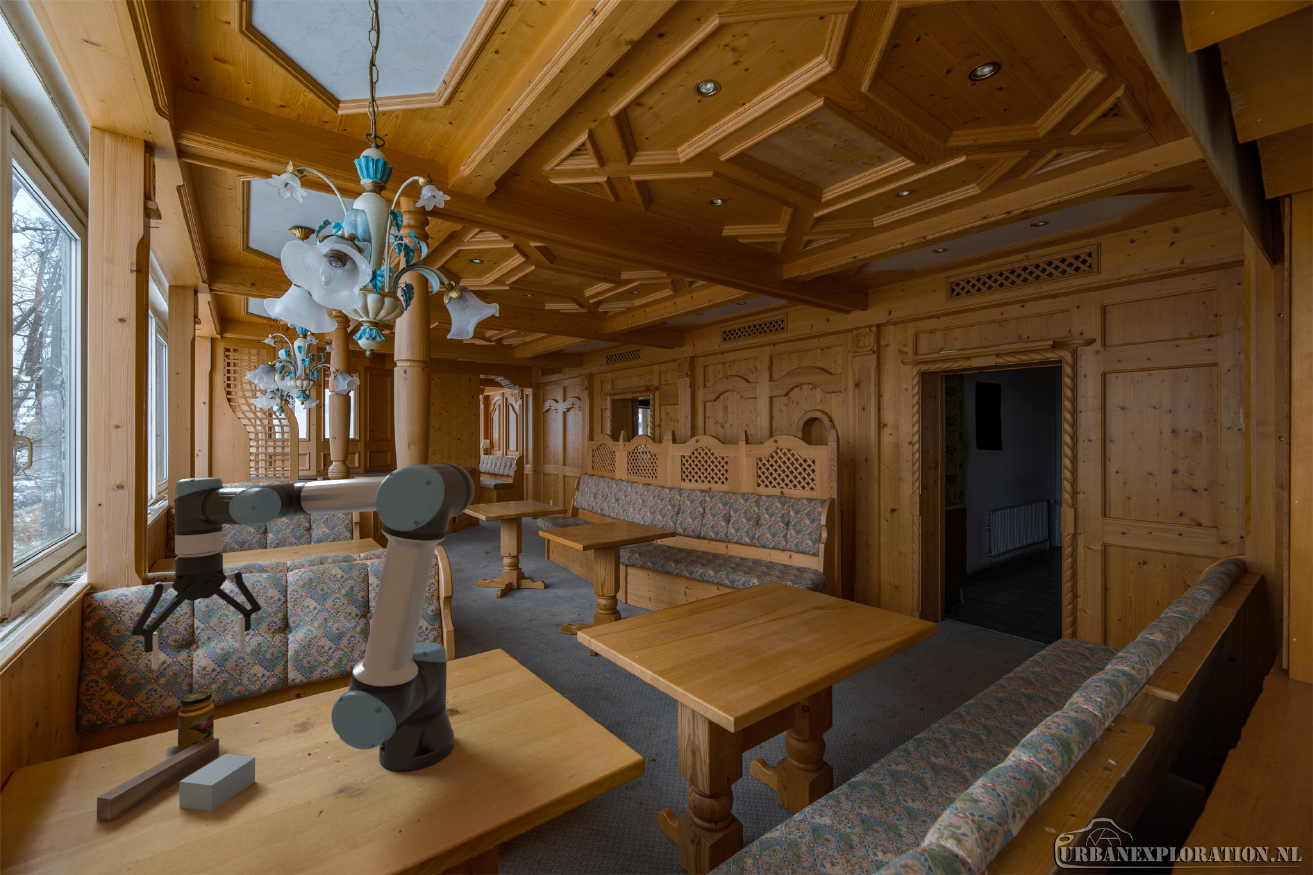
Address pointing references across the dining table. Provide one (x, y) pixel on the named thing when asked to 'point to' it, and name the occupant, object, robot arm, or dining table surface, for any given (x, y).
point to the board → (156, 779)
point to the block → (216, 782)
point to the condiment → (194, 721)
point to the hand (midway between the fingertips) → (200, 657)
